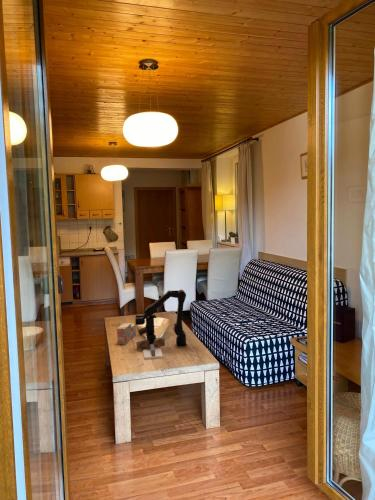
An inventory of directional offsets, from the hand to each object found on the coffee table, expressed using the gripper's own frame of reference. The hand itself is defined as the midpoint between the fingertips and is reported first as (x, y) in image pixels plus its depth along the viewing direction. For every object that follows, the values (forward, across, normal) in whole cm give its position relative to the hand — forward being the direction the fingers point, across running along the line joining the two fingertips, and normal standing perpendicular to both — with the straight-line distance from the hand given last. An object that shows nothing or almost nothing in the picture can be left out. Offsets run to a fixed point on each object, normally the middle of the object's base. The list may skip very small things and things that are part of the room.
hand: (150, 345), depth 281 cm
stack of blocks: (+1, -20, -16) cm, 25 cm away
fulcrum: (+1, +16, 0) cm, 16 cm away
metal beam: (+1, 0, 0) cm, 1 cm away
